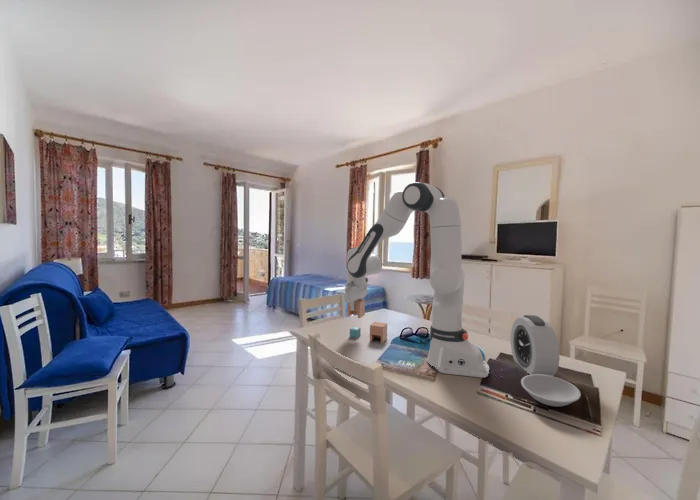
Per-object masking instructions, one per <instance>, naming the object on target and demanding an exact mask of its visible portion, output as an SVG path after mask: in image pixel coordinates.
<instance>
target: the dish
mask: <svg viewBox="0 0 700 500" xmlns="http://www.w3.org/2000/svg"><path fill="white" fill-rule="evenodd" d="M520 384H521V386H522V388H523V389H524V390H525V391H526V392H527V393H528V394H529V395H530V396H531V397H532V398H533V399H534V400H536V401H537V402H539V403H541V404H543V405H545V406H550V407H556V408H557V407H564V406H565V407H566V406H568V405H570V404H572V403H574V402H577V401H579V399H581V395H582V393H581V391H580V389H579V388H578V387H577V386H576V385H574V384H572V383H571V382H569V381H568V380H565V379H563V378H560V377H557V376H555V375H554V376H550V375H544V374H531V375H528V374H527V375H525V376H523V377H522V378H521V380H520Z"/></svg>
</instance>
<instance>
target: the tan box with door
mask: <svg viewBox="0 0 700 500" xmlns="http://www.w3.org/2000/svg"><path fill="white" fill-rule="evenodd" d="M354 306H355V310H354V311H353V310H351V307H350V304H349V303H347V318H350V317H351V316H353V315H357V319H361V318H362V317H364V316H365V315H366V314H365V313H366V311H365V309H366V308H365V307H366V301H365V299H363V300H359V299H358V300H356V301H355V303H354Z"/></svg>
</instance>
